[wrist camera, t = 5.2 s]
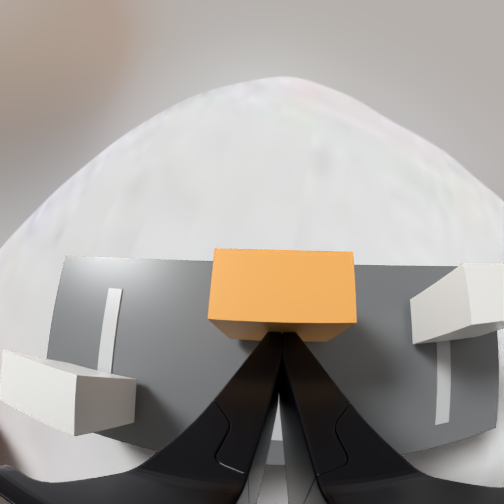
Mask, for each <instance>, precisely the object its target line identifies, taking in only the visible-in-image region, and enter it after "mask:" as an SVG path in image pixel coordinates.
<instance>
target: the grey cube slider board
mask: <svg viewBox="0 0 504 504" xmlns="http://www.w3.org/2000/svg"><path fill="white" fill-rule="evenodd" d="M457 267H458V266H386V265H354V273H355V291H356V315H357V323H355V324H354V325H352V326H351V327H349V328H348V329H346V330H345V331H343V332H342V333H340V334H338V335H337V336H335V337H334V338H332V339H330V340H329V341H327V342H304V343H305V344H306V345H307V347H308V348H309V349H310V351H311V352H312V353H313V355H314V356H315V357H316V358H317V360H318V361H319V362H320V364H321V365H322V366H323V367H324V369H325V370H326V371H327V373H328V374H329V375H330V376H331V378H332V379H333V380H334V382H335V383H336V384H337V385H338V387H339V388H340V389H341V391H342V392H343V393H344V394H345V396H346V397H347V398H348V399H349V401H350V404H353V406H354V407H355V408H356V409H357V411H358V412H359V413H360V414H361V416H362V417H363V418H364V419H365V420H366V421H367V423H368V424H369V425H370V426H371V427H372V428H373V429H374V430H375V431H376V432H377V433H378V434H379V435H380V436H381V437H382V438H383V439H384V440H385V441H386V442H387V443H388V444H389V445H390V446H392V447H393V448H394V449H395V450H396V451H397V452H398V453H399V454H400V455H402V454H408V453H412V452H417V451H422V450H426V449H430V448H434V447H438V446H442V445H445V444H449V443H452V442H456V441H459V440H462V439H466V438H469V437H472V436H475V435H478V434H480V433H483V432H486V431H489V430H491V429H494V428H496V420H497V407H498V384H499V363H498V339H497V331H494V332H491V333H488V334H484V335H481V336H478V337H472V338H465V339H457V340H449V341H440V342H431V343H421V344H413V340H412V320H411V306H410V299H412V298H413V297H415V296H416V295H418V294H419V293H421V292H422V291H424V290H425V289H427V288H428V287H430V286H431V285H433V284H434V283H436V282H437V281H439V280H440V279H442V278H443V277H444V276H446V275H447V274H449V273H450V272H451V271H453V270H454V269H456V268H457ZM212 269H213V261H189V260H161V259H135V258H110V257H86V256H66V257H65V261H64V265H63V269H62V273H61V277H60V282H59V286H58V291H57V296H56V301H55V306H54V311H53V317H52V323H51V330H50V336H49V344H48V352H47V359H50V360H55V361H61V362H67V363H71V364H75V365H78V366H82V367H86V368H90V369H94V370H98V371H102V372H106V373H111V374H115V375H120V376H125V377H130V378H135V379H137V384H136V399H135V417H134V423H130V424H126V425H123V426H119V427H115V428H110V429H106V430H102V431H97V432H93V433H96V434H99V435H102V436H105V437H109V438H112V439H115V440H119V441H122V442H126V443H129V444H133V445H137V446H141V447H145V448H149V449H153V450H158V451H160V450H161V449H162V448H163V447H165V446H166V445H167V444H168V443H169V442H171V441H172V440H173V439H174V438H175V437H177V436H178V435H179V434H180V433H181V432H182V431H184V430H185V429H186V428H187V427H188V426H189V425H190V424H191V423H192V422H193V421H194V420H195V419H196V418H197V417H198V416H199V415H200V414H201V413H202V412H203V411H204V410H205V408H206V407H207V406H208V405H209V404H210V403H211V401H214V398H215V397H216V396H217V394H218V393H219V392H220V391H221V390H222V388H223V387H224V386H225V385H226V384H227V382H228V381H229V380H230V379H231V377H232V376H233V375H234V374H235V373H236V371H237V370H238V369H239V368H240V366H241V365H242V364H243V363H244V361H245V360H246V359H247V358H248V356H249V355H250V354H251V352H252V351H253V350H254V349H255V347H256V346H257V345H258V344H259V342H260V341H257V340H237V339H230V338H228V337H227V336H226V335H225V334H224V333H223V332H222V331H220V330H219V329H218V328H217V327H216V326H215V325H214V324H213V323H212V322H210V321H209V320H208V308H209V298H210V288H211V278H212ZM266 464H268V465H285V460H284V449H283V439H282V429H281V419H280V409H279V401H278V408H277V413H276V418H275V423H274V428H273V433H272V438H271V443H270V448H269V452H268V457H267V462H266Z"/></svg>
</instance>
